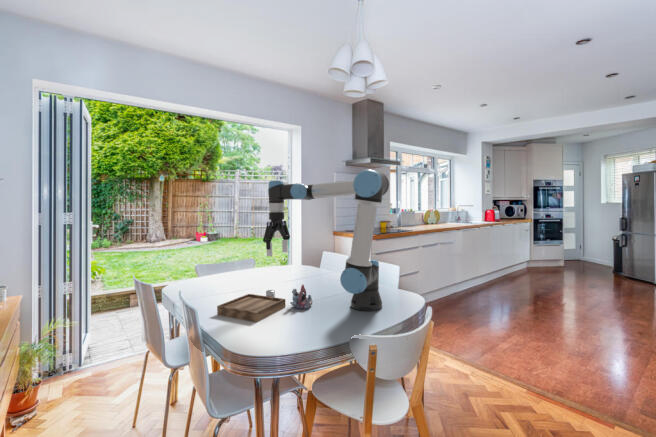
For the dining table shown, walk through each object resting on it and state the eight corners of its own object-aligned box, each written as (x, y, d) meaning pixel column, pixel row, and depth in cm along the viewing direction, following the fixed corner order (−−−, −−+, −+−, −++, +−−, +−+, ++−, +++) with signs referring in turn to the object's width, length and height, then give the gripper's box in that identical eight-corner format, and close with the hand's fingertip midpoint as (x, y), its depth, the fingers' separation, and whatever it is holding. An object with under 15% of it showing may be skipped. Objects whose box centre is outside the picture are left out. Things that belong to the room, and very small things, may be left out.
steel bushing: (276, 300, 168) (276, 290, 168) (271, 302, 164) (271, 292, 164) (269, 298, 170) (269, 289, 170) (264, 301, 166) (264, 291, 166)
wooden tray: (285, 307, 156) (285, 299, 156) (256, 322, 136) (256, 312, 136) (249, 301, 165) (248, 293, 165) (217, 314, 145) (217, 305, 145)
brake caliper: (313, 306, 149) (298, 285, 151) (295, 319, 152) (280, 298, 153) (319, 299, 160) (304, 279, 162) (302, 311, 163) (288, 291, 164)
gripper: (284, 211, 174) (284, 250, 175) (254, 212, 152) (255, 257, 152) (296, 211, 171) (296, 251, 172) (267, 212, 148) (268, 258, 149)
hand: (277, 254), depth 162 cm, fingers open, 13 cm apart
